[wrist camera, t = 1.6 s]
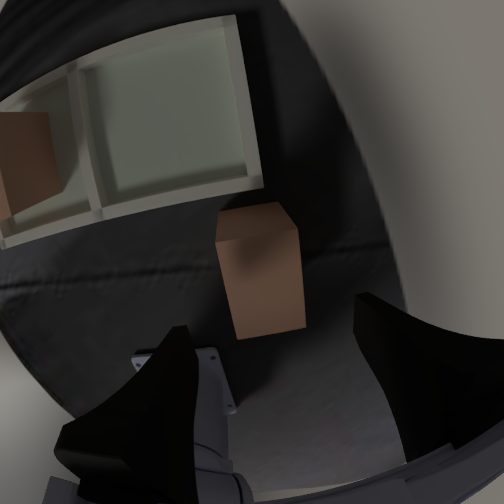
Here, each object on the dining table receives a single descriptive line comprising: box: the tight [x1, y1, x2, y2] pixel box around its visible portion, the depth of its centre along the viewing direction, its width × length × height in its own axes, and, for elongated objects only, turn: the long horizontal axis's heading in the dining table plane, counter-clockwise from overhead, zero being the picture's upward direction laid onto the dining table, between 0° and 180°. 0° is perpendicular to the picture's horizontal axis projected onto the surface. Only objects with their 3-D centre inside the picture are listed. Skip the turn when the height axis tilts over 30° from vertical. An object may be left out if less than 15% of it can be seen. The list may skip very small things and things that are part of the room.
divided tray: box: [0, 15, 264, 250], centre depth 16 cm, size 11×21×2 cm, turn 99°
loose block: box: [215, 202, 306, 340], centre depth 18 cm, size 6×4×6 cm, turn 9°
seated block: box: [0, 112, 63, 221], centre depth 13 cm, size 6×4×6 cm, turn 9°
